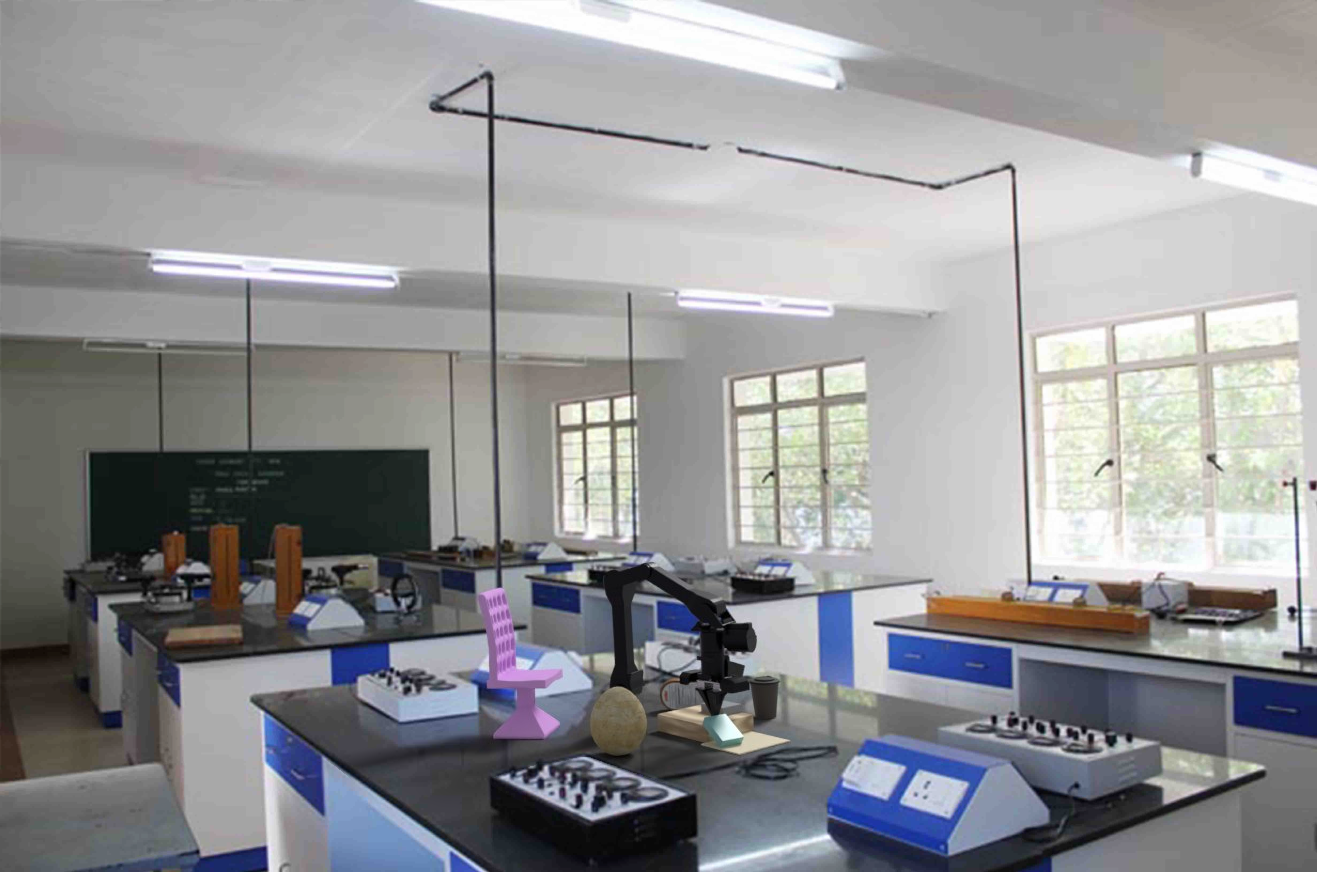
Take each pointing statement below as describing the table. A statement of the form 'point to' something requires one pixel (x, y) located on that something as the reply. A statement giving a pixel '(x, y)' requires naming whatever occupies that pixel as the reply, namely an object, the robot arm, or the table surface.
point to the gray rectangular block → (725, 708)
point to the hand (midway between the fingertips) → (715, 718)
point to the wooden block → (697, 723)
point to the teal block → (722, 730)
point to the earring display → (514, 672)
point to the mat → (749, 743)
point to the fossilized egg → (618, 722)
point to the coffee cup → (765, 696)
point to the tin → (679, 694)
